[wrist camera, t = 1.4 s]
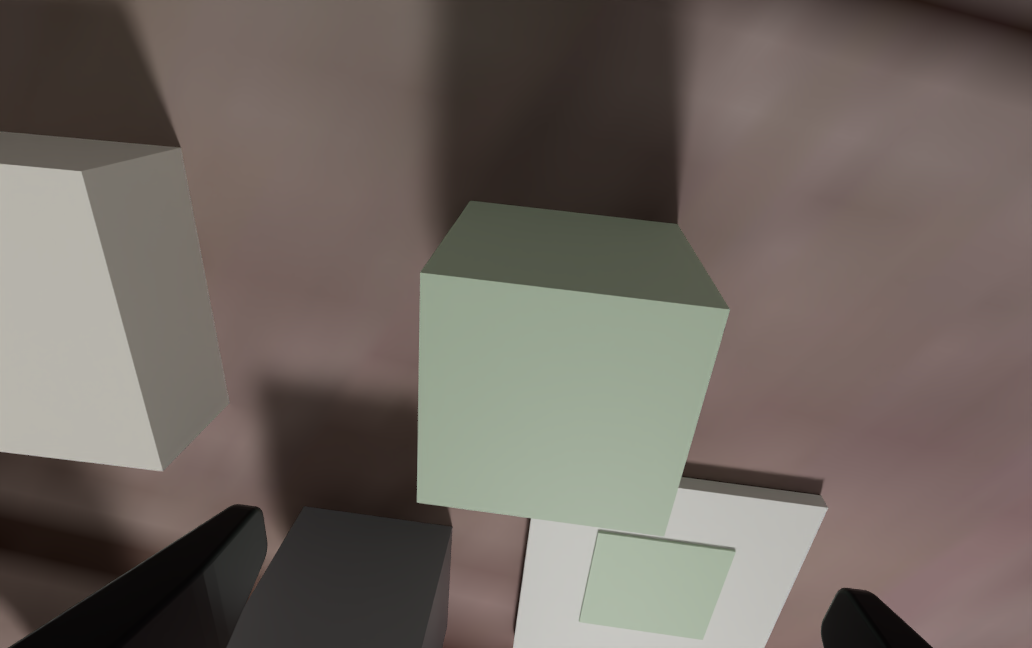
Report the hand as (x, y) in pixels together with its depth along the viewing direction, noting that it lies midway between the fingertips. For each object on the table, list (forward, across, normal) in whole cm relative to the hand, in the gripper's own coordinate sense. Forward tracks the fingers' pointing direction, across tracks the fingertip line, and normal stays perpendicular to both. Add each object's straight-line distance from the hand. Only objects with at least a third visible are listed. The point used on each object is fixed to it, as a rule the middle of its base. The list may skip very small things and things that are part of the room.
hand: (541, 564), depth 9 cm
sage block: (+10, 0, 0) cm, 10 cm away
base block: (+10, +16, +1) cm, 19 cm away
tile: (+10, -5, +11) cm, 15 cm away
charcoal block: (+10, +6, +13) cm, 17 cm away
